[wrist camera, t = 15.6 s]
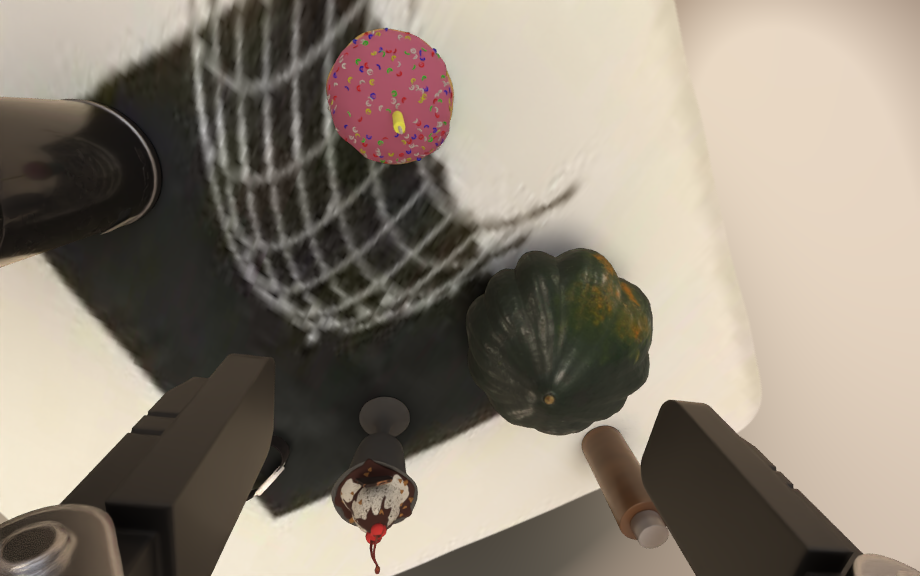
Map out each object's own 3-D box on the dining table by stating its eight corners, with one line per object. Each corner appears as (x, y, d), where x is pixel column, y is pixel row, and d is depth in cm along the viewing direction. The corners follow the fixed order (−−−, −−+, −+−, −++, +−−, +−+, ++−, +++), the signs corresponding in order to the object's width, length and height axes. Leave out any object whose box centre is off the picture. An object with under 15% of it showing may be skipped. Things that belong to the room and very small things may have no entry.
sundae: (390, 455, 46) (377, 600, 32) (337, 421, 45) (298, 560, 31) (432, 413, 45) (436, 546, 31) (379, 376, 43) (357, 500, 29)
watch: (259, 492, 47) (246, 522, 44) (219, 470, 46) (202, 498, 42) (304, 446, 45) (294, 472, 42) (263, 421, 44) (250, 446, 41)
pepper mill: (577, 457, 48) (621, 555, 38) (587, 424, 47) (636, 515, 36) (615, 460, 49) (670, 557, 38) (626, 427, 48) (687, 518, 37)
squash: (698, 341, 38) (697, 341, 25) (572, 452, 42) (513, 502, 29) (579, 233, 44) (527, 187, 31) (478, 339, 48) (393, 338, 34)
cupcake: (469, 128, 36) (490, 132, 25) (376, 179, 37) (355, 205, 25) (416, 16, 33) (412, -36, 22) (316, 75, 34) (263, 53, 23)
